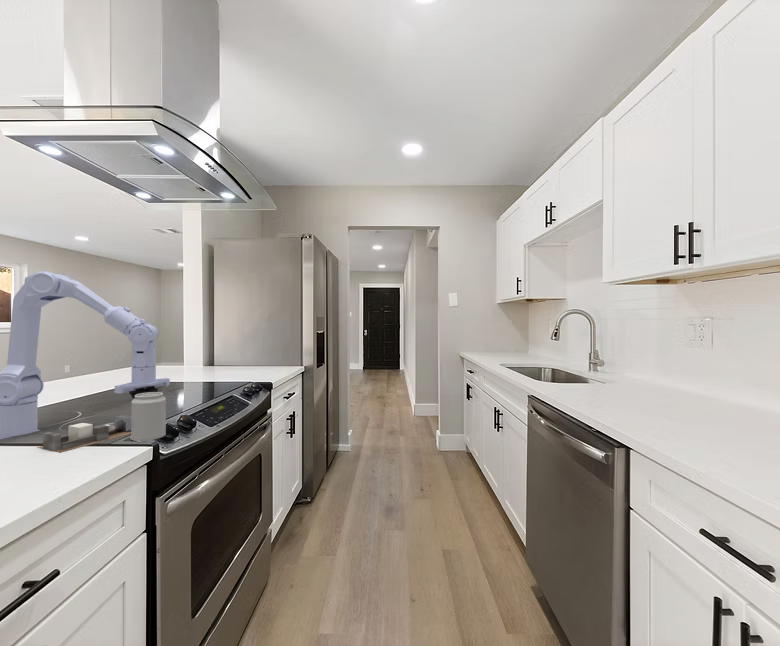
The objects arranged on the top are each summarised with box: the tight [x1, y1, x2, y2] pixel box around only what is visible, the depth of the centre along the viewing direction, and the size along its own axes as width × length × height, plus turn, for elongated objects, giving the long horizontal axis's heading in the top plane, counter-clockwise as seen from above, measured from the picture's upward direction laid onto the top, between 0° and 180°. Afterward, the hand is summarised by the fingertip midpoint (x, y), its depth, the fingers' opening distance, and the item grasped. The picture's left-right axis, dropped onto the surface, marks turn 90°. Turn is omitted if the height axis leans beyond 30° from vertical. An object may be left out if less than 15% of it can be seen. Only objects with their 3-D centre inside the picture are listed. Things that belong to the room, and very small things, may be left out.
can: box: [130, 391, 167, 442], centre depth 95 cm, size 8×8×12 cm
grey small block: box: [94, 415, 131, 433], centre depth 97 cm, size 4×8×3 cm, turn 159°
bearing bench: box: [36, 422, 131, 454], centre depth 92 cm, size 9×16×4 cm, turn 159°
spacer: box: [67, 422, 93, 441], centre depth 91 cm, size 4×3×4 cm
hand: (143, 414), depth 105 cm, fingers closed
